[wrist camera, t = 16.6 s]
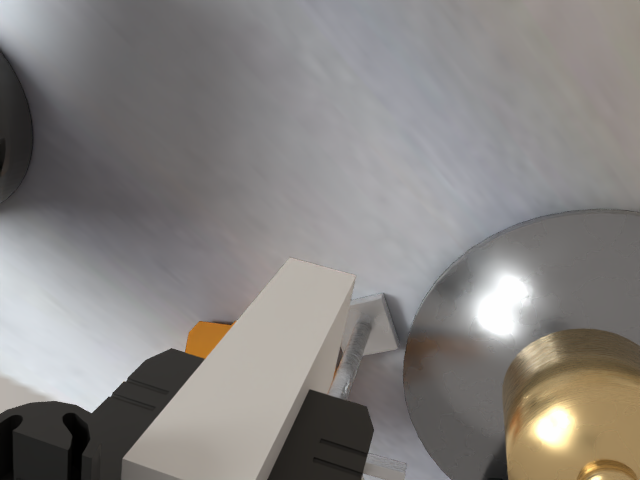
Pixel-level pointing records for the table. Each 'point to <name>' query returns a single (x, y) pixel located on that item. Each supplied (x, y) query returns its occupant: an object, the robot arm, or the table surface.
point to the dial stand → (359, 340)
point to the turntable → (512, 324)
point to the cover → (574, 408)
